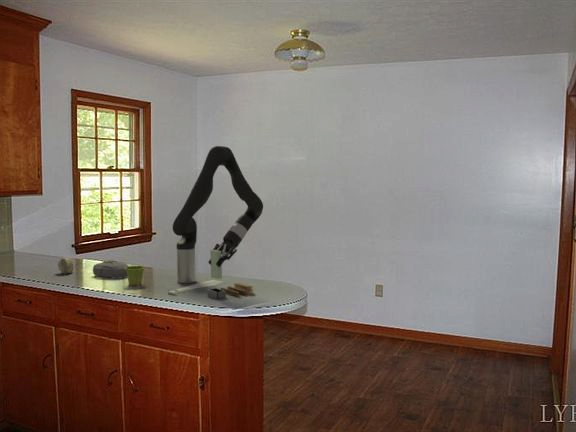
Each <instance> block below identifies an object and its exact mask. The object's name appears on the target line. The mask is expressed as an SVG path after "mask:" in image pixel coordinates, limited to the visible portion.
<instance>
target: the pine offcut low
mask: <svg viewBox="0 0 576 432" xmlns="http://www.w3.org/2000/svg"><path fill="white" fill-rule="evenodd" d="M231 287H234V285H232V286H231ZM234 288H236V287H234ZM237 289H239V288H237ZM241 290H243V289H241ZM244 291H246V290H244ZM253 293H254V289H252V290H248V291H246V295H248V296H250V295H249V294H253ZM253 295H254V294H253Z"/></svg>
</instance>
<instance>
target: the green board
mask: <svg viewBox="0 0 576 432" xmlns="http://www.w3.org/2000/svg"><path fill="white" fill-rule="evenodd" d="M220 257H221V251H217V250H213V249H211V250H210V259H211V265H210V277H211V278H212V279H215V280H220V279H223V271H222V270H223V269H222V267H223V264H222V265H221V266H220V267H218V266H217V265H216V263H217V261H218V260H219V259H220ZM221 258H222V257H221Z"/></svg>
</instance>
